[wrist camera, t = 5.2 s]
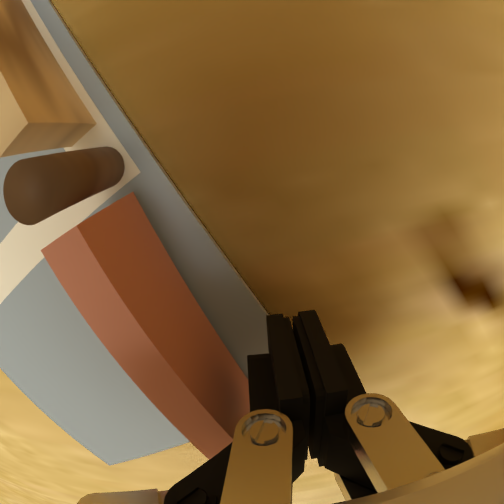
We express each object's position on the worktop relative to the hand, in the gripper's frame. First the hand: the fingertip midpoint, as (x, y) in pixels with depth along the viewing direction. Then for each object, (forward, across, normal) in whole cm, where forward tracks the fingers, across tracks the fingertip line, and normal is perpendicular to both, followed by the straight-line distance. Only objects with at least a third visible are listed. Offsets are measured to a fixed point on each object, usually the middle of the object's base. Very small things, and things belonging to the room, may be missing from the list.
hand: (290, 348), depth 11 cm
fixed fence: (+1, +8, -11) cm, 13 cm away
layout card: (+2, +10, -3) cm, 10 cm away
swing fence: (+1, +3, 0) cm, 3 cm away
